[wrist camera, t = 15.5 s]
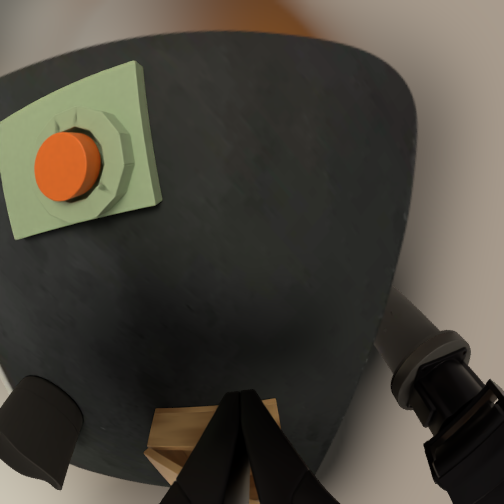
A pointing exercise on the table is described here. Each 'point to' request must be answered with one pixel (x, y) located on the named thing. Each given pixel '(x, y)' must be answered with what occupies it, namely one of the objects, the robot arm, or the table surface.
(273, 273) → the table surface
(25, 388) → the pen holder
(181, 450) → the wooden case
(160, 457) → the case lid
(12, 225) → the control block
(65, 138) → the button
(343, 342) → the table surface
